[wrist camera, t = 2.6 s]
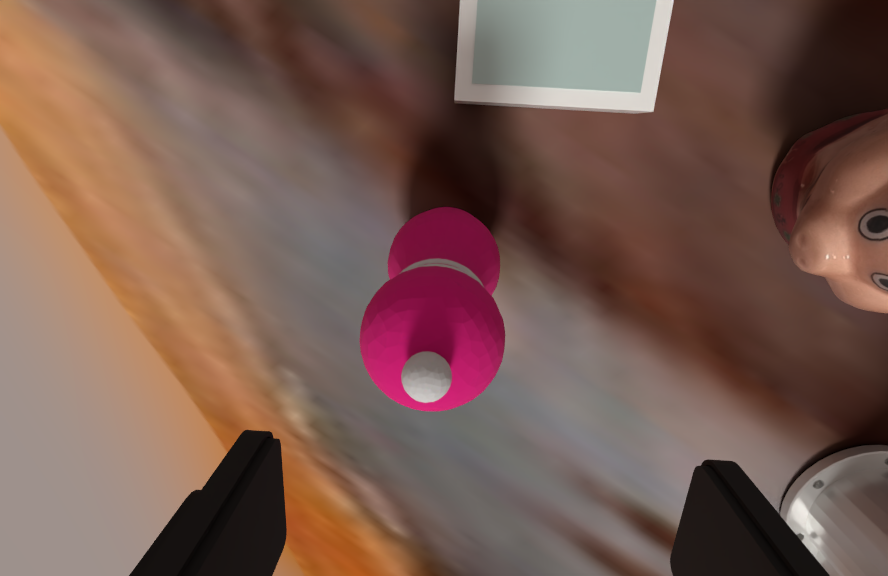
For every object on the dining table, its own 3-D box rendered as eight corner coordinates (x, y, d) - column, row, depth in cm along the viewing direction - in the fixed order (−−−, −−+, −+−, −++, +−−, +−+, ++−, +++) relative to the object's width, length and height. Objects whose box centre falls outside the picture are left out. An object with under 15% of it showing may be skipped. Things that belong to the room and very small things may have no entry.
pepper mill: (378, 231, 35) (273, 351, 16) (465, 180, 33) (465, 244, 14) (429, 311, 36) (391, 508, 17) (513, 266, 35) (571, 426, 16)
